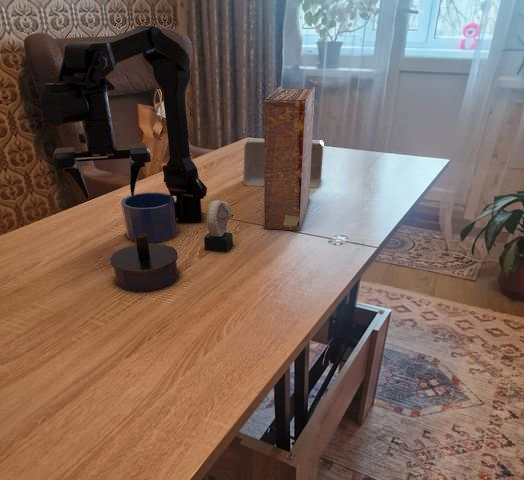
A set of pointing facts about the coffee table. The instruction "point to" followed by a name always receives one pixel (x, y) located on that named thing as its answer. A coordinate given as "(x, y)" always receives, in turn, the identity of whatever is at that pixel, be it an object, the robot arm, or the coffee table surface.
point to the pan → (147, 279)
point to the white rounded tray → (255, 162)
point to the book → (287, 156)
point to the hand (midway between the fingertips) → (110, 197)
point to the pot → (150, 216)
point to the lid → (143, 256)
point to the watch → (218, 227)
